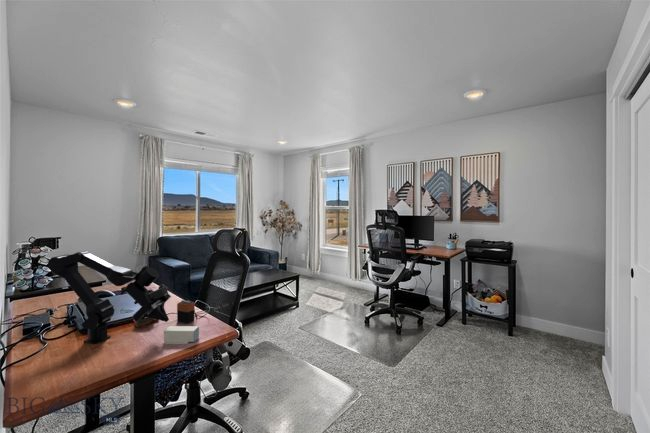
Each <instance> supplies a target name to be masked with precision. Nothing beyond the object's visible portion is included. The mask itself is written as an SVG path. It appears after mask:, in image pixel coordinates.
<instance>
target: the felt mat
mask: <svg viewBox="0 0 650 433" xmlns="http://www.w3.org/2000/svg"><path fill="white" fill-rule="evenodd" d="M188 344H189V342H164V344H163V345H188Z"/></svg>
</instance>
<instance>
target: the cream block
mask: <svg viewBox="0 0 650 433" xmlns="http://www.w3.org/2000/svg"><path fill="white" fill-rule="evenodd" d="M199 335H200V326H199V325H198V326H197V325H196V326H195V325H189V326H188V325H185V326H184V325H170V326H168V327H167V328H165V329H164V330H163V342H164V343H165V342H190V343H192V342H193V343H195V342H196V341H197V340H198V338H199Z"/></svg>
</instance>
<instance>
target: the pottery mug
mask: <svg viewBox="0 0 650 433" xmlns="http://www.w3.org/2000/svg"><path fill="white" fill-rule="evenodd" d="M147 315H148V314H147V313H145V314H144V315H143V316H142V317H141V319H140V320H139V321H137V322H136V321H135V327H136V328H139V327H141V326H145V325H148V324H150V323H151V322H152V321H157V322H159V320H158V319H154V318H149V317H146V316H147Z"/></svg>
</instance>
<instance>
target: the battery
mask: <svg viewBox="0 0 650 433" xmlns="http://www.w3.org/2000/svg"><path fill="white" fill-rule="evenodd" d="M176 311H177V312H176V320H177V323H182V324H186V325H188V324H190V323H192V322H194V321H195V302H193V301H191V300H185V299H182V300H181V301H180V302H177V304H176Z"/></svg>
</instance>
